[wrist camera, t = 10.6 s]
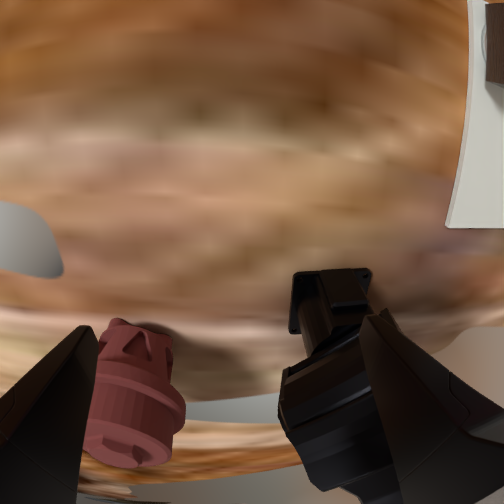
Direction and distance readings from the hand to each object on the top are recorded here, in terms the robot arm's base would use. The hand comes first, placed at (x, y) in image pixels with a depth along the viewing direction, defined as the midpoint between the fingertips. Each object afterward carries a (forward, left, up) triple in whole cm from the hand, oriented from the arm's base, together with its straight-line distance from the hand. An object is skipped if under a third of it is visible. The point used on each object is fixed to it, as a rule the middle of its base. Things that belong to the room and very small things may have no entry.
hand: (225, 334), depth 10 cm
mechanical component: (-14, +9, -13) cm, 21 cm away
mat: (+7, -27, -13) cm, 30 cm away
